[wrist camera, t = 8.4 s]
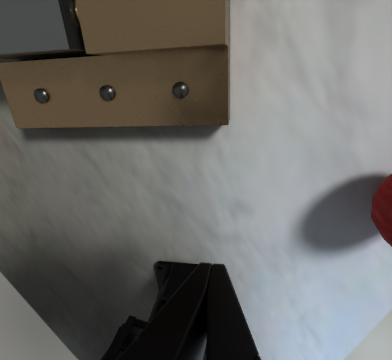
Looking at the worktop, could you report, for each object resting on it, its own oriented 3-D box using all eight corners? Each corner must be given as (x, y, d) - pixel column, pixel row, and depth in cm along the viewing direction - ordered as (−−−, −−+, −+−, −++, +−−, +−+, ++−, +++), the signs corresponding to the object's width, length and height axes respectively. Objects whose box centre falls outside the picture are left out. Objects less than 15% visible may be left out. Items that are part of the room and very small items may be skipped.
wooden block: (229, 118, 18) (225, 134, 14) (36, 122, 21) (-13, 136, 17) (230, -23, 15) (224, -54, 11) (-1, 5, 18) (-72, -12, 14)
